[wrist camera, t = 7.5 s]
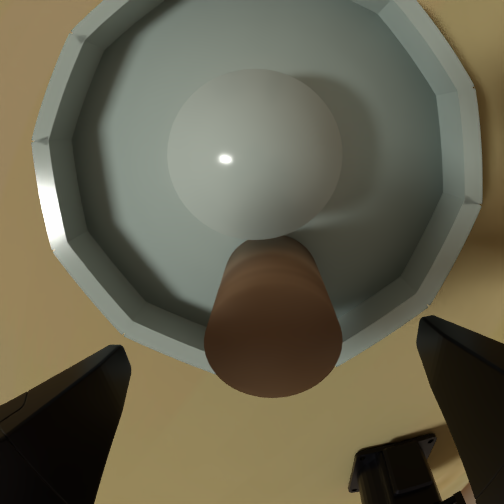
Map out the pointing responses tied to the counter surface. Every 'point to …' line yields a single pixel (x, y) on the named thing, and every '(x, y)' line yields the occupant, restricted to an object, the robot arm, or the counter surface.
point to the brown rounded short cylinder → (272, 321)
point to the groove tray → (343, 238)
